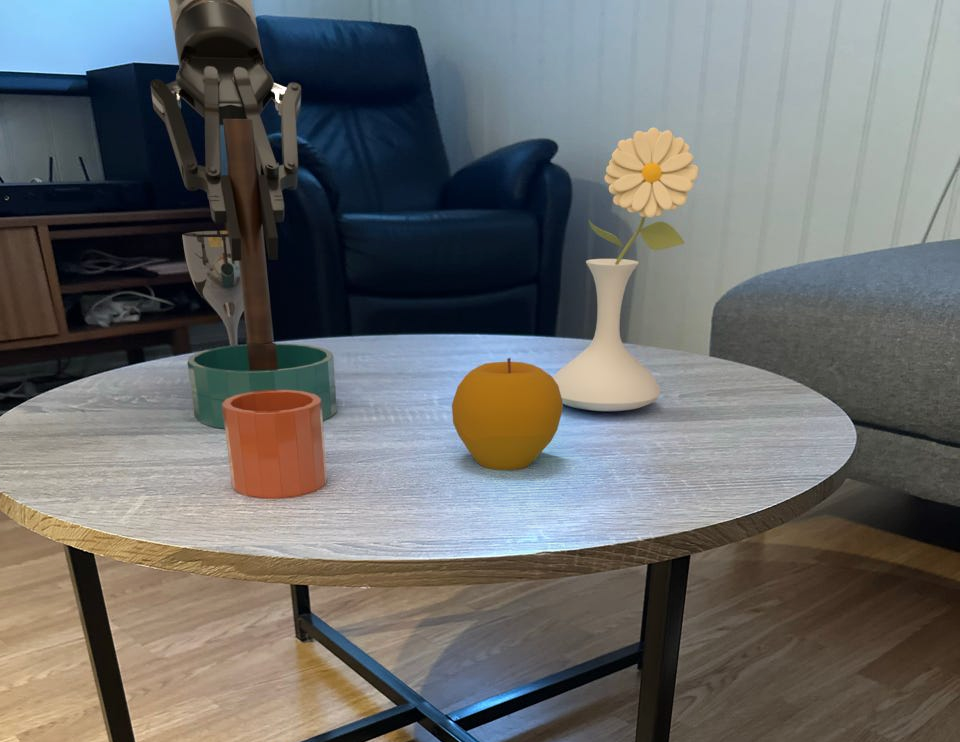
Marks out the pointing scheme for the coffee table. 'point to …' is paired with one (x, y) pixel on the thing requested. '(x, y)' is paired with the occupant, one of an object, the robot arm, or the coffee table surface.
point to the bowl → (258, 377)
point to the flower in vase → (628, 271)
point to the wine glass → (216, 276)
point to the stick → (250, 243)
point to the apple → (506, 413)
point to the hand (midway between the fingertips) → (255, 248)
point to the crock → (275, 443)
